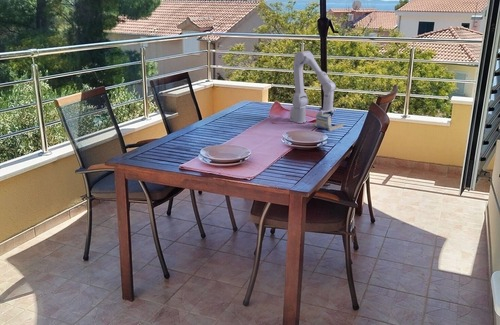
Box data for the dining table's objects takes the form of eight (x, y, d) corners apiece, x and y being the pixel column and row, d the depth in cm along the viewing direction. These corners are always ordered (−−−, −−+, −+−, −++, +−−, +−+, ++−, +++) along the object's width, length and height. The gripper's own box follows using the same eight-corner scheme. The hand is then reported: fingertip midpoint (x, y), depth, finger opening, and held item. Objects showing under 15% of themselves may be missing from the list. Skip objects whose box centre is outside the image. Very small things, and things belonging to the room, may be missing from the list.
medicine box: (316, 127, 300) (315, 115, 295) (319, 123, 303) (318, 111, 298) (328, 129, 296) (327, 117, 291) (331, 125, 299) (330, 113, 294)
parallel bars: (312, 126, 302) (312, 123, 301) (326, 122, 311) (326, 119, 310) (329, 131, 293) (330, 127, 293) (343, 126, 303) (343, 123, 302)
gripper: (326, 105, 288) (325, 127, 293) (340, 101, 298) (339, 123, 303) (316, 103, 293) (315, 125, 298) (331, 99, 303) (329, 121, 307)
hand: (326, 124), depth 301 cm, fingers closed
